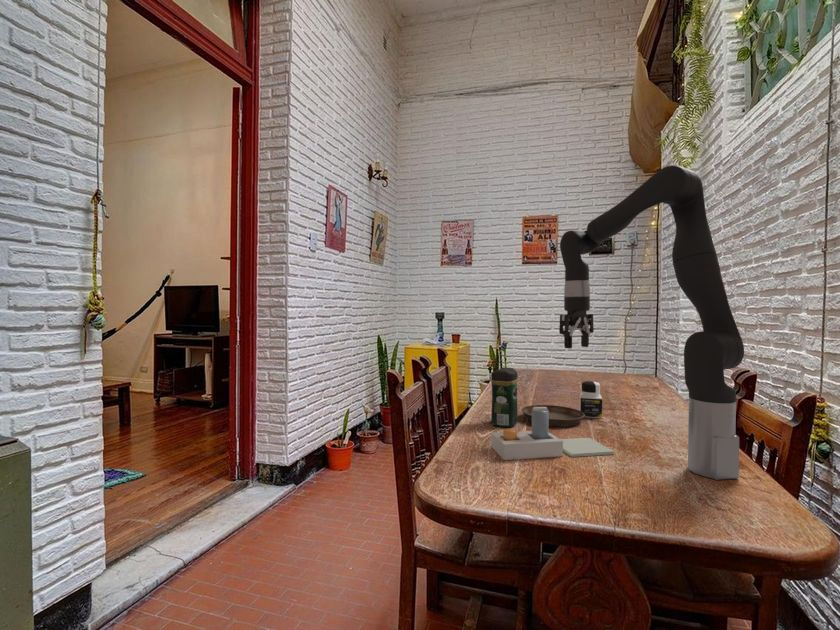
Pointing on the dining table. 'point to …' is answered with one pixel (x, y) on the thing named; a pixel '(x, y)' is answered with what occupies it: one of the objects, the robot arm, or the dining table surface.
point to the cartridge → (540, 423)
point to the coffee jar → (504, 397)
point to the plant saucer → (557, 415)
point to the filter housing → (526, 446)
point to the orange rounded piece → (509, 434)
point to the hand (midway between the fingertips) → (576, 347)
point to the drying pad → (584, 447)
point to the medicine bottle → (591, 400)
